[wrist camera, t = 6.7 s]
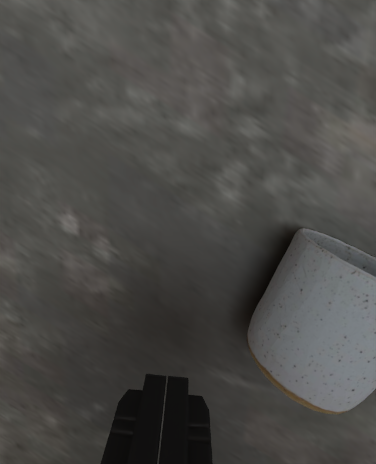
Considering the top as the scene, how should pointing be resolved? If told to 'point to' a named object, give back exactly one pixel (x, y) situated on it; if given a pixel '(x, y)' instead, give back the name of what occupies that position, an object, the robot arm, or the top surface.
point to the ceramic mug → (319, 324)
